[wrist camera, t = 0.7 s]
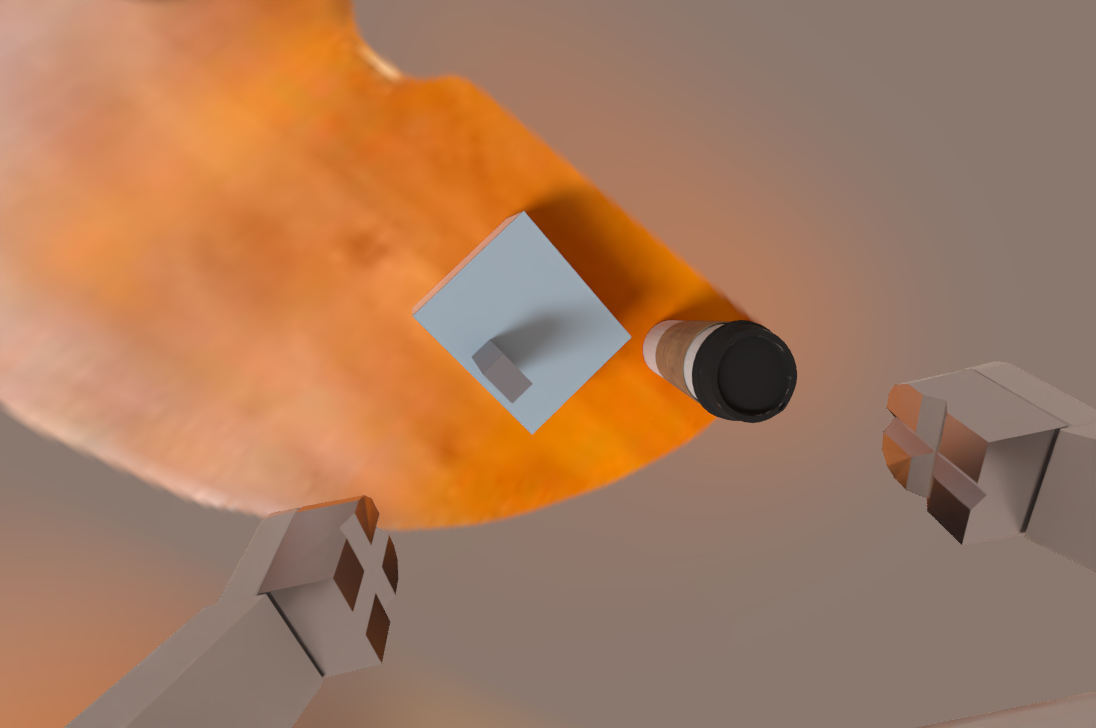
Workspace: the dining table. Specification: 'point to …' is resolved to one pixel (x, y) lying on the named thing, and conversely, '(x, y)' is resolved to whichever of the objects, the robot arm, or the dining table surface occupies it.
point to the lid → (523, 323)
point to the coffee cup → (724, 366)
